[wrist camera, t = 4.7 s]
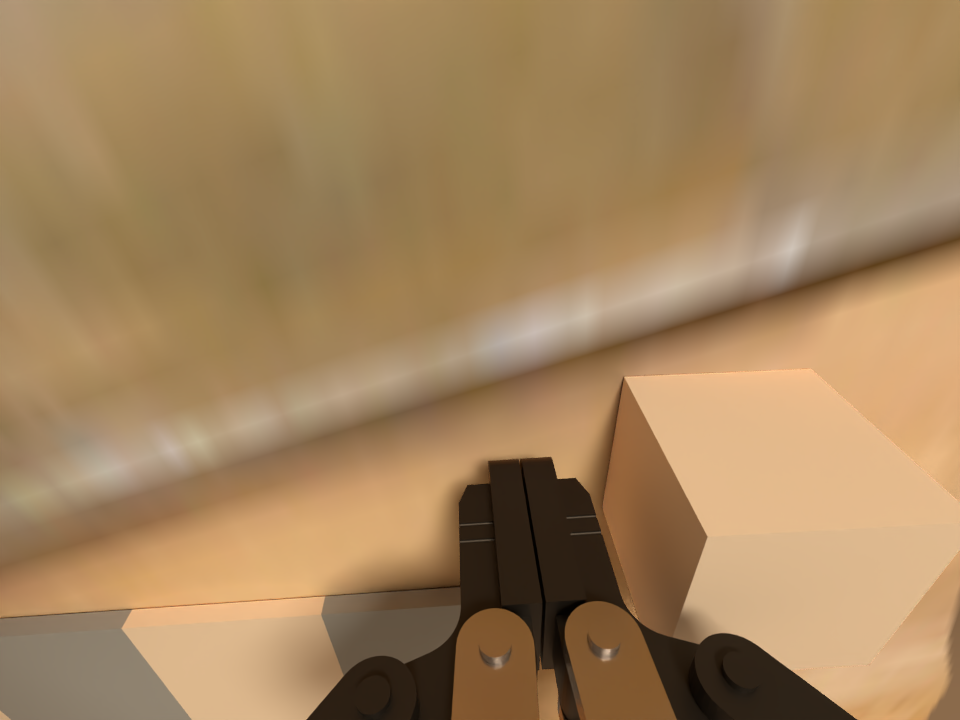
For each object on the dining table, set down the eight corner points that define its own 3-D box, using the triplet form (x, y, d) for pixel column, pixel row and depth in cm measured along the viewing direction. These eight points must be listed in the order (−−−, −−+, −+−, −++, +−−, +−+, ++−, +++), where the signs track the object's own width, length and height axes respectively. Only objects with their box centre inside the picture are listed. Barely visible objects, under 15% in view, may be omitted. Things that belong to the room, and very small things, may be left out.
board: (-264, 636, 15) (-288, 656, 15) (515, 583, 16) (517, 601, 15) (-93, 747, 20) (-107, 765, 19) (515, 702, 20) (516, 719, 20)
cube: (624, 377, 12) (707, 537, 8) (811, 368, 12) (981, 522, 8) (602, 508, 14) (658, 678, 10) (757, 499, 14) (869, 664, 10)
